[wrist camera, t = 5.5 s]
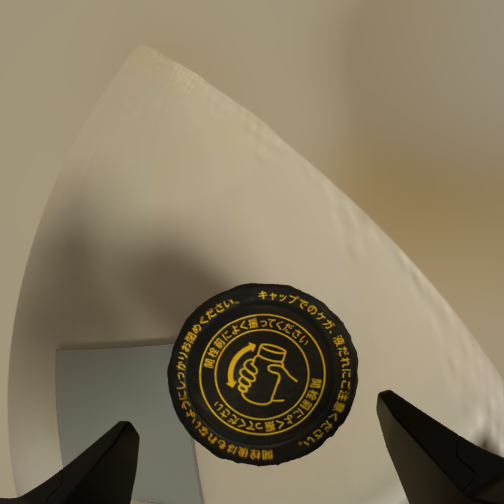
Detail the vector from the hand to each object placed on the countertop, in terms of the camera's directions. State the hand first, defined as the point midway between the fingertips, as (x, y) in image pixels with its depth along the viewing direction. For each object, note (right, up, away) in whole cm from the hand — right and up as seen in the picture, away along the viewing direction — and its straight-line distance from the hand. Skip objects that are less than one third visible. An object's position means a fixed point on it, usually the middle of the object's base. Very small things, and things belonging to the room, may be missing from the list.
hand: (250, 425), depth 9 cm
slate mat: (-10, -7, +8) cm, 15 cm away
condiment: (+1, -3, +9) cm, 9 cm away
